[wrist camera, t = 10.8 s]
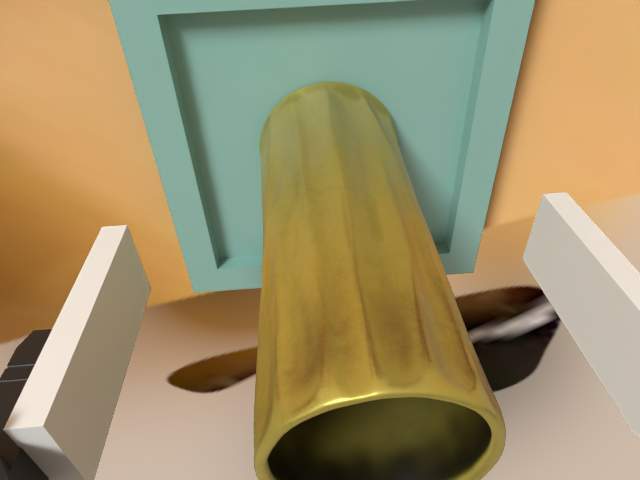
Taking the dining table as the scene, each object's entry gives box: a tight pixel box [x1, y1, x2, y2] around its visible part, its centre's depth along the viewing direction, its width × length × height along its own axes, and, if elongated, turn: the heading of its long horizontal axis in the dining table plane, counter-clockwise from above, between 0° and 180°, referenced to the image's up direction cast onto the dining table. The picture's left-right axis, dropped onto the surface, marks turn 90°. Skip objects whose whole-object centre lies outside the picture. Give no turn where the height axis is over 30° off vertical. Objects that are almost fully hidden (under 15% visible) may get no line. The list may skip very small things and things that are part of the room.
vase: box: [254, 81, 506, 480], centre depth 15 cm, size 6×6×14 cm
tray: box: [109, 0, 535, 293], centre depth 21 cm, size 15×15×2 cm
